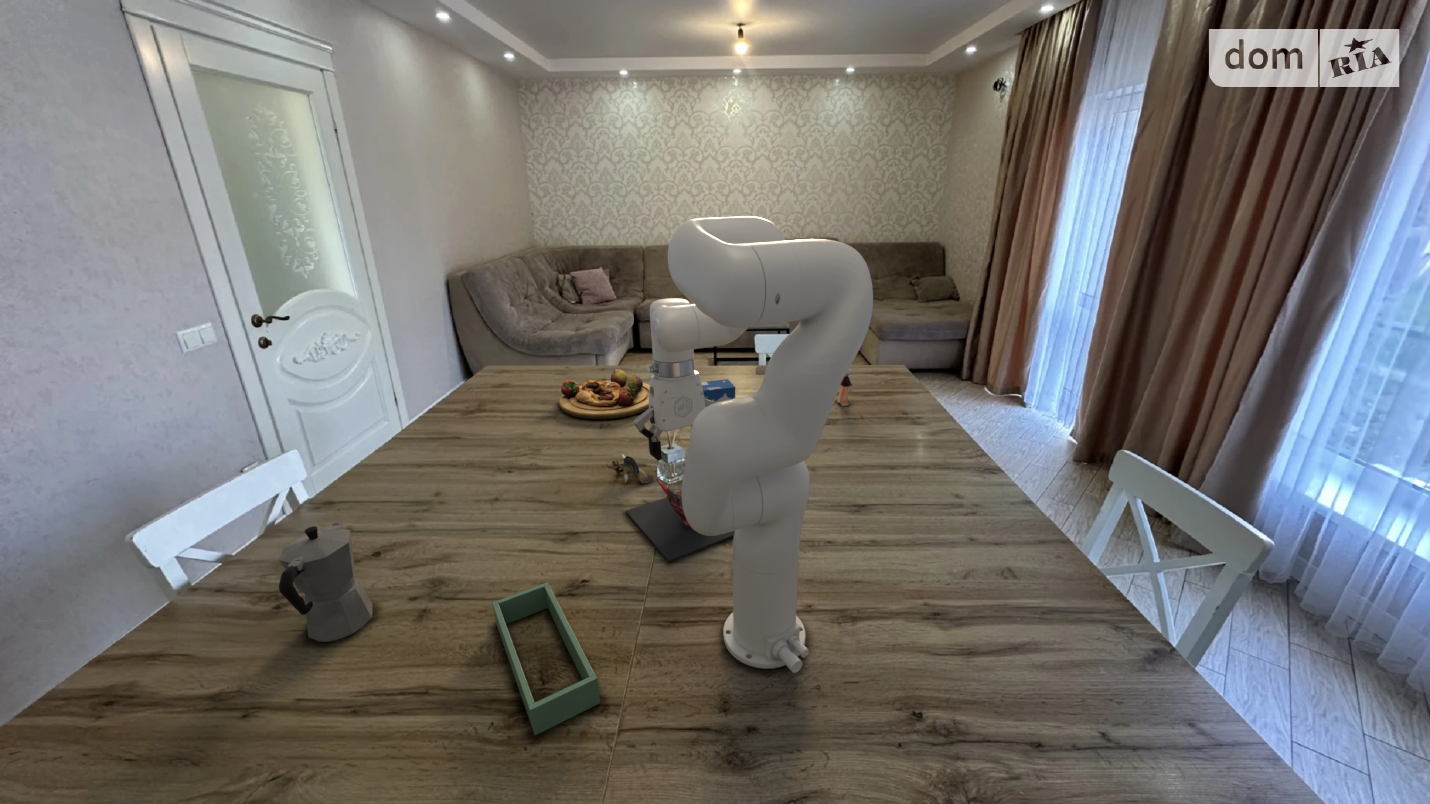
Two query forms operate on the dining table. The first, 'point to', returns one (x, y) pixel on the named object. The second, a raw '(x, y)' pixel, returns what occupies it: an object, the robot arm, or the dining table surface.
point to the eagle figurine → (630, 469)
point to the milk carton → (718, 390)
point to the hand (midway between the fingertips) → (678, 451)
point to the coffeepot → (325, 583)
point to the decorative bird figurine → (675, 501)
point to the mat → (671, 530)
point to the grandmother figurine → (845, 389)
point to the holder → (586, 690)
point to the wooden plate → (605, 397)
